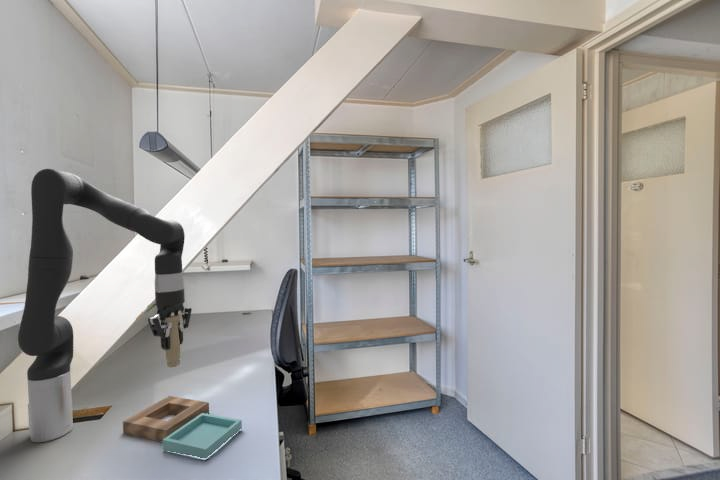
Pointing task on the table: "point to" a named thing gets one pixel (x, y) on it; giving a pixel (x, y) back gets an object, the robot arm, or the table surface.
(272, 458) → the table surface
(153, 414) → the socket block
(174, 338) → the handle
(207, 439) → the tray
